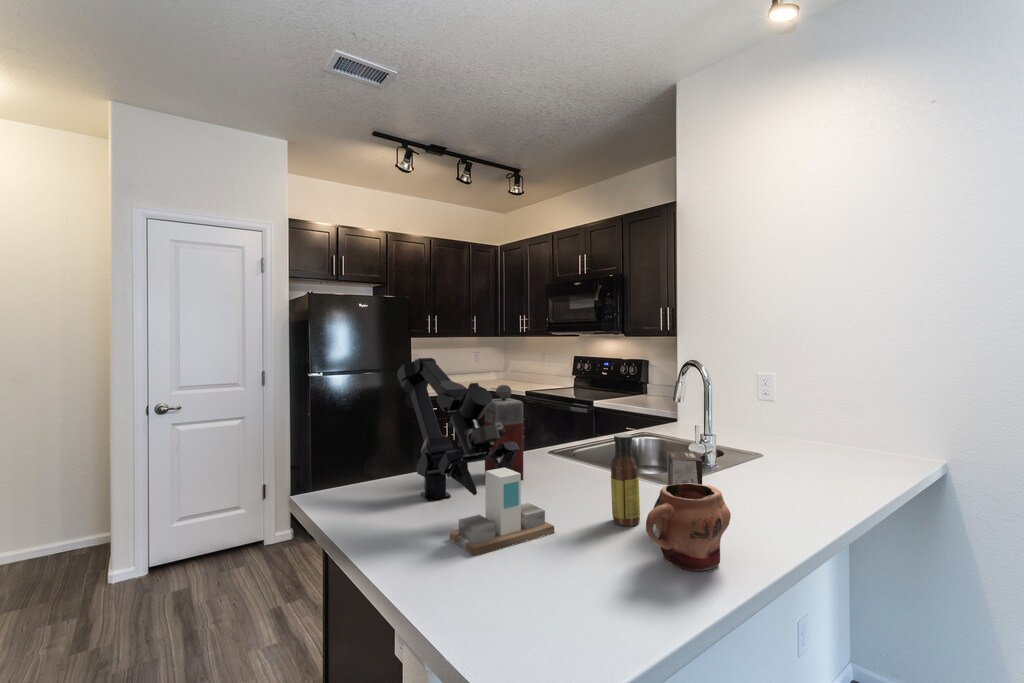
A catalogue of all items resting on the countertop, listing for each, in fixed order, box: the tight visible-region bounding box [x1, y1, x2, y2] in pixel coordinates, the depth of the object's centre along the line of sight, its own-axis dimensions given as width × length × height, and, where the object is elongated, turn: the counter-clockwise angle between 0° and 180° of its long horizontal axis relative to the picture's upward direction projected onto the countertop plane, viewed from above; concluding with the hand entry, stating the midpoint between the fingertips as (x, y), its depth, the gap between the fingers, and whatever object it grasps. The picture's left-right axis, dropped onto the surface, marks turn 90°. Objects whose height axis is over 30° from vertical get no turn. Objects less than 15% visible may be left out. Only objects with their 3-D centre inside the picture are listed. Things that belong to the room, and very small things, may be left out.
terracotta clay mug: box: [645, 483, 732, 572], centre depth 92 cm, size 20×12×14 cm, turn 125°
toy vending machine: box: [484, 384, 524, 481], centre depth 150 cm, size 9×11×28 cm
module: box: [484, 468, 522, 536], centre depth 105 cm, size 6×5×12 cm
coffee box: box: [666, 450, 703, 485], centre depth 110 cm, size 9×6×16 cm
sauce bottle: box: [610, 433, 641, 527], centre depth 113 cm, size 6×6×20 cm
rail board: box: [449, 502, 555, 557], centre depth 105 cm, size 10×20×4 cm, turn 125°
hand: (493, 490), depth 108 cm, fingers open, 9 cm apart
